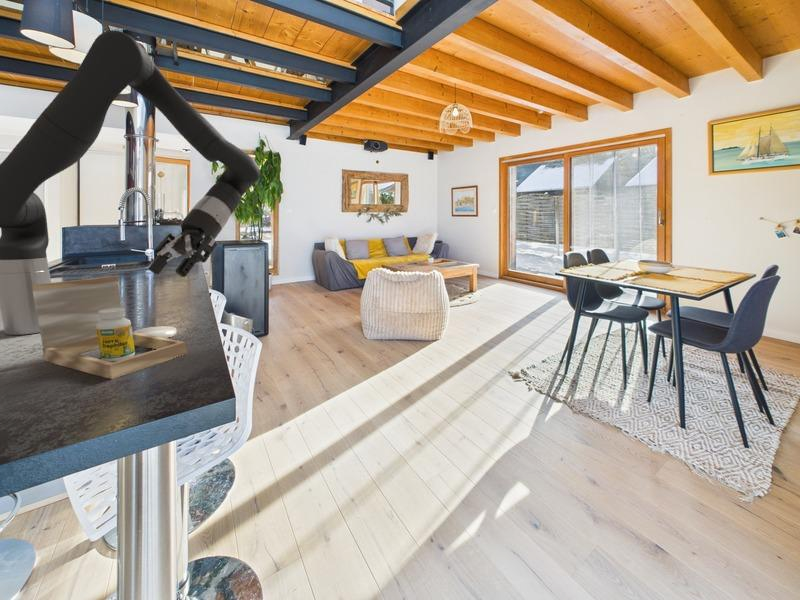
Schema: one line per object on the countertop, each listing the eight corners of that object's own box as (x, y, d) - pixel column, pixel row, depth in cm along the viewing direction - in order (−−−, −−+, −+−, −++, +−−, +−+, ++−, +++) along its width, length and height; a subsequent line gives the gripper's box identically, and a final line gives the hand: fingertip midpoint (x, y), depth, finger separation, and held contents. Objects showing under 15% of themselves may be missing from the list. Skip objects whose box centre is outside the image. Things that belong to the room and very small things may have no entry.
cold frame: (44, 361, 70) (31, 285, 67) (123, 340, 83) (114, 276, 80) (112, 379, 62) (100, 295, 60) (187, 353, 75) (180, 283, 72)
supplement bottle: (135, 351, 76) (129, 305, 74) (134, 359, 72) (128, 311, 70) (102, 355, 73) (95, 308, 71) (99, 364, 69) (92, 314, 67)
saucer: (121, 339, 84) (120, 334, 83) (159, 329, 92) (159, 324, 91) (148, 344, 80) (147, 339, 80) (185, 333, 88) (185, 329, 88)
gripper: (174, 207, 88) (130, 260, 79) (218, 207, 82) (175, 264, 74) (196, 230, 93) (157, 281, 85) (239, 231, 88) (201, 286, 80)
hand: (165, 273), depth 80 cm, fingers open, 8 cm apart
